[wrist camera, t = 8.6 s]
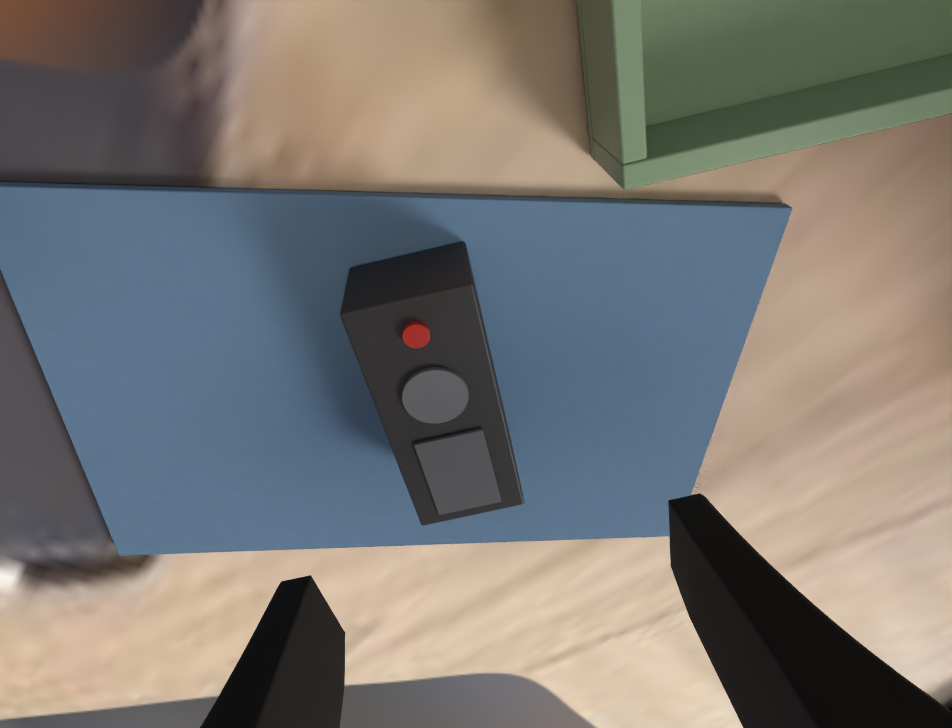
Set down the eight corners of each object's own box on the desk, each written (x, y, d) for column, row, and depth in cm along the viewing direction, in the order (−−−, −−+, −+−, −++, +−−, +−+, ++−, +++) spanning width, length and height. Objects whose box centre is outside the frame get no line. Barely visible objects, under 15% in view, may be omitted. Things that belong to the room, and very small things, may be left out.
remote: (512, 446, 21) (526, 509, 19) (420, 466, 21) (421, 532, 19) (465, 239, 17) (474, 286, 14) (348, 266, 17) (337, 317, 14)
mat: (672, 528, 25) (676, 536, 25) (122, 547, 23) (118, 555, 22) (785, 203, 17) (793, 207, 17) (-27, 180, 15) (-36, 185, 15)
